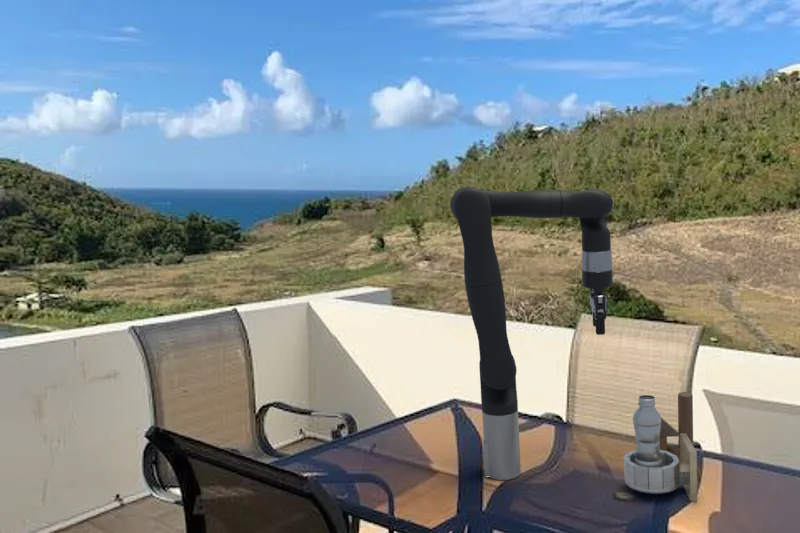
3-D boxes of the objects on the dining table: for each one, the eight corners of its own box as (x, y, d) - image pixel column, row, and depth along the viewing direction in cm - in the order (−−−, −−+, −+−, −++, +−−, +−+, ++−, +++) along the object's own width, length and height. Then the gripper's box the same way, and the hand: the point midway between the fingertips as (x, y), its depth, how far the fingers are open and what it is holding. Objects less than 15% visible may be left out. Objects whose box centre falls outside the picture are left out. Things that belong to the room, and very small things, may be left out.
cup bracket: (628, 501, 187) (627, 453, 185) (622, 479, 199) (621, 433, 197) (697, 501, 184) (696, 452, 183) (686, 479, 197) (686, 433, 195)
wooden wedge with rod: (650, 458, 210) (648, 393, 208) (691, 456, 210) (690, 391, 207) (653, 463, 207) (652, 397, 204) (695, 462, 206) (695, 395, 203)
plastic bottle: (664, 482, 189) (663, 401, 186) (635, 481, 190) (633, 401, 187) (661, 471, 195) (660, 392, 192) (633, 470, 197) (631, 393, 194)
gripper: (579, 264, 209) (582, 324, 211) (583, 273, 195) (586, 337, 197) (609, 262, 207) (611, 323, 210) (615, 272, 194) (617, 336, 196)
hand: (598, 330), depth 204 cm, fingers open, 8 cm apart
